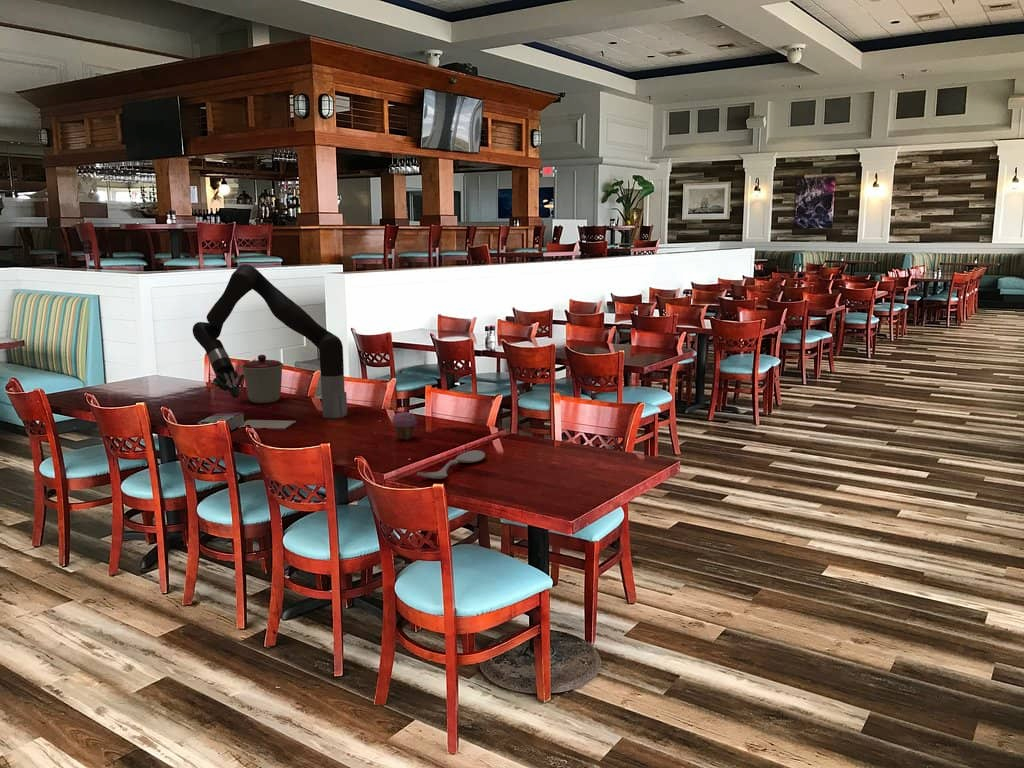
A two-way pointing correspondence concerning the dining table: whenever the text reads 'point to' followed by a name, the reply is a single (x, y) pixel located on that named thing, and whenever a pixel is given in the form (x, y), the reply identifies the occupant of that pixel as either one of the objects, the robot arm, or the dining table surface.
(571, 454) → the dining table surface
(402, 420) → the cupcake
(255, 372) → the canister
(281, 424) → the placemat
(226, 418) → the candy bar box
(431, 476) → the spoon
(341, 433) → the dining table surface
